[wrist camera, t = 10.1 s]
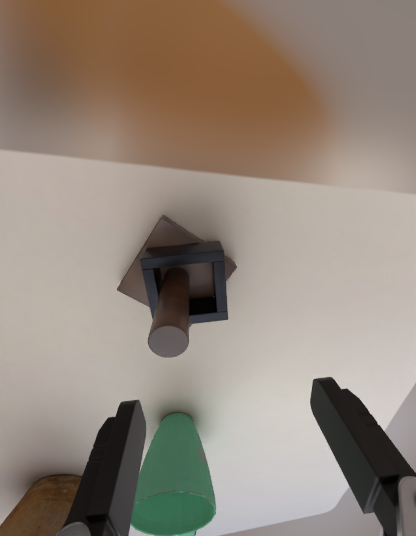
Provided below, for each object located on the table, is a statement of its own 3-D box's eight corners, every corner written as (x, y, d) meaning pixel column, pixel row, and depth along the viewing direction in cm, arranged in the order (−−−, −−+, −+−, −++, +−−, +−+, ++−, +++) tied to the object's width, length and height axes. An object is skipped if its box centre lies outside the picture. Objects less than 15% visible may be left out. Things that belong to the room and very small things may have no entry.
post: (163, 214, 22) (139, 249, 12) (234, 261, 24) (266, 323, 14) (120, 283, 24) (70, 360, 14) (189, 320, 27) (188, 407, 17)
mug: (136, 408, 32) (114, 502, 23) (203, 395, 32) (208, 484, 23) (161, 464, 38) (152, 558, 29) (218, 454, 38) (227, 544, 29)
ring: (219, 240, 22) (223, 250, 19) (223, 303, 25) (228, 319, 22) (145, 248, 22) (139, 259, 19) (158, 310, 24) (154, 328, 22)
